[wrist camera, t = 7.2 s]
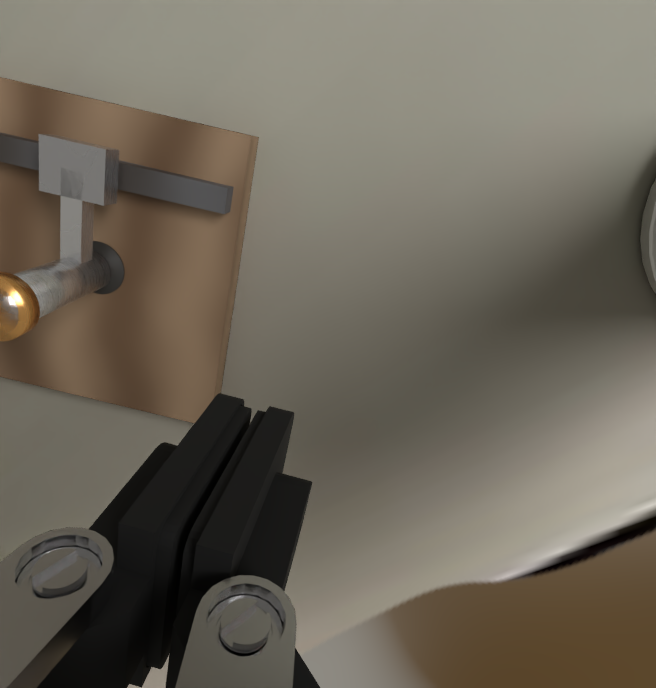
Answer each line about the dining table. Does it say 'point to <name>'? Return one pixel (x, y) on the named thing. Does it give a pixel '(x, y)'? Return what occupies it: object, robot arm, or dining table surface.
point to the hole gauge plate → (129, 252)
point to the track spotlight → (63, 234)
